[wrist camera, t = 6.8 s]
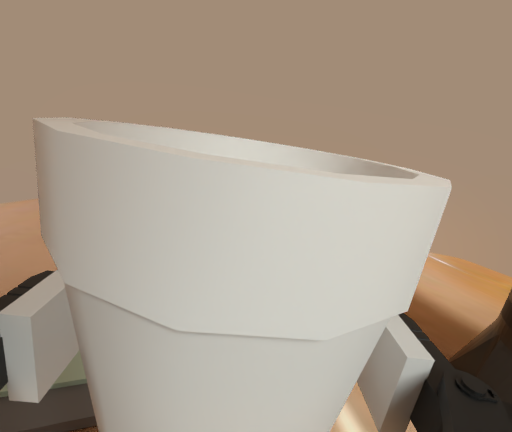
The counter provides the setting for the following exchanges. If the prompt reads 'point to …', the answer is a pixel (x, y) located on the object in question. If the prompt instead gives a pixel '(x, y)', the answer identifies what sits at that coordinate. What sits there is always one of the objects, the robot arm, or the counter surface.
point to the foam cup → (226, 271)
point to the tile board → (52, 405)
